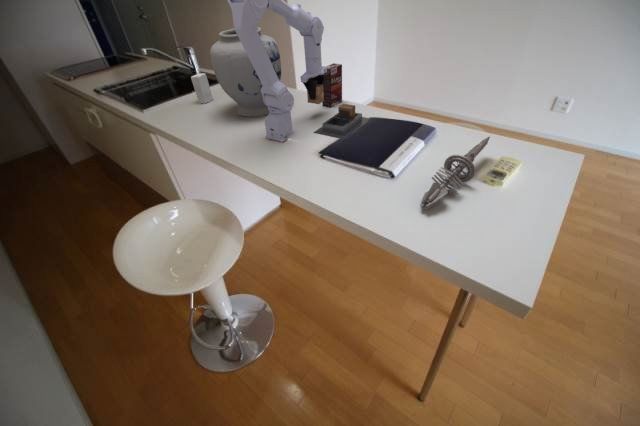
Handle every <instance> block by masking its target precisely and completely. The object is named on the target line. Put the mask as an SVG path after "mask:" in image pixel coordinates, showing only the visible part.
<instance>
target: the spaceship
mask: <svg viewBox="0 0 640 426" xmlns="http://www.w3.org/2000/svg"><path fill="white" fill-rule="evenodd" d="M490 138H491V136H488V137H486V138H484V139H483V140H481V141H480V142H479V143H477V144H476V145H475V146H473V147H472V149H469V151H468V152H467V153H466V154H464V155H462V154H452V155H449V157H447V158H446V159H445V161H444V164H443V166H441V167H440V169H438V170H437V171H436V172H435V174H434V175H433V176H434V177H433V176H432V177H431V180H432V181H434V182H432V184H431V186H430V188H429V190H428V191H426V192H424V194H423V197H422V199H421V201H420V204H419V207H421V208H423V210H424V211H425V210H427V209H430V208H432V207H434V206H436V205H438V204H439V203H440V201H441V199H442V198H444V197H445V196H446V195H448V194H451V195H453V196H455V195H456V194H455V193H457V192H458V191H460V189H461V188H462V187H463V186H464V185H465V183H466V182H470V181H471V180H473V178H474V177H475V174H476V166H475V164H474V163H473V162H474V161H475V158H476V157H477V156H478V155H479V154H480V153H481V152H482V150H484V148H486V146H487V145H488V143H489V140H490ZM454 163H456V164H454ZM465 170H466V171H465ZM436 179H437V180H436ZM462 185H463V186H462Z"/></svg>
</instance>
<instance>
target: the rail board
mask: <svg viewBox="0 0 640 426" xmlns="http://www.w3.org/2000/svg"><path fill="white" fill-rule="evenodd" d="M369 119H370V120H371V118H370V117H365V116H363V113H361V112H360V113H358V112H355V117H354V118H353V119H352V120H351V119H345V118H340V117H339V114H338V113H336V114H334V115H333V116H332V117H330V118H329V119H327V120H325V121H324V122H322V126H321V127H319V128H317V129H316V130H315V131H314V132H313V134H317V135H323V136H324V137H325V136H327V137H330V138H335V139H340V140H344V139H345V138H346V137H348V136H347V135H348V134H352V135H353V134H354V133H355V132H356V131H358V130H359V129H360V128H361V127H362V126H363V125H365V124H366V123H367V122H369V121H370V120H369ZM348 138H349V137H348Z"/></svg>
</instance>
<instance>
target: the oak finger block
mask: <svg viewBox="0 0 640 426" xmlns="http://www.w3.org/2000/svg"><path fill="white" fill-rule="evenodd" d="M306 94H307V103H310V104H316V105H320V104H323V101H324V93H323V85H321V84H317V85H316V98H315V100H313V99H310V97H309V94H308V91H307V90H306Z"/></svg>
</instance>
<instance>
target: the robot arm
mask: <svg viewBox="0 0 640 426" xmlns="http://www.w3.org/2000/svg"><path fill="white" fill-rule="evenodd" d="M226 1H227V3H228V5H229V7H230V9H231V15H232V21H233V27H234V28H235V31H236V33H237V35H238V37H239V39H240V41H241V43H242V45H243V47H244V49H245V51H246V53H247V55H248V57H249V59H250V61H251V63H252V65H253V67H254V69H255V71H256V73H257V75H258V77H259V79H260V81H261V83H262V85H263V86H262V88H261V90H260V91H261V93H262V96H263V102H264V104H265V105H266V106H268V110H269V114H267V116H265V118H264V126H265V133H266V135H265V138H266V139H269V140H273V141H277V142H281V143H283V142H285V141H286V140H288V139H289V137H288V136H289V135H291V134H293V132H294V130H293V129H294V128H293V120H292V115H291V114H292V113H291V111H292V109H293V107H294V103H295V98H294V95H293V93H291V91H289V89H288V88H287V86H286V85H285V84H284V83H283V82H282V81H281V80H280V81H279V79H278V77H277V75H276V72H275V70H274V68H273V66H272V63H271V61H270V59H269V57H268V54H267V52H266V50H265V48H264V45H263V43H262V41H261V39H260V36H259V34H258V32H257V29H256V28H257V27H258V25H259V23H260V21H261V19H262V17H263V15H264V13H265V11H266V10H267V9H269V10H271V11H272V12H274V13H276V14H278V15H279V16H280V17H281V16H282V17H283V18H285V19H284V20H285V23H286V24H287V25H289V26H290V27H292V28H293V29H295V30H297V31H298V32H299V35H300V36H301V37H303V47H304V49H303V50H304V58H305V59H304V60H305V72H304V73H303V74H302V75H300V77H299V78H300V83H303V86H304V87H305V89H306V92H307V91H308V94H309V97H310V99H313V100H315V98H316V85H317V84H321V85H323V86H324V82H325V80H326V78H327V75H324V74H325V73H326V72H327V67H326V65H325V66H323V65H322V62H323V61H322V40H323V33H324V30H325V26H324V24H323V22H322V20H321V19H320V18H319V17H317V16H312V15H311V12H310V11H306V10H305V9H303V8H302V5H301V4H299V3H293V4H291V5H290V4H288V3H287V1H285V0H226ZM234 28H233V29H234Z"/></svg>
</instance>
